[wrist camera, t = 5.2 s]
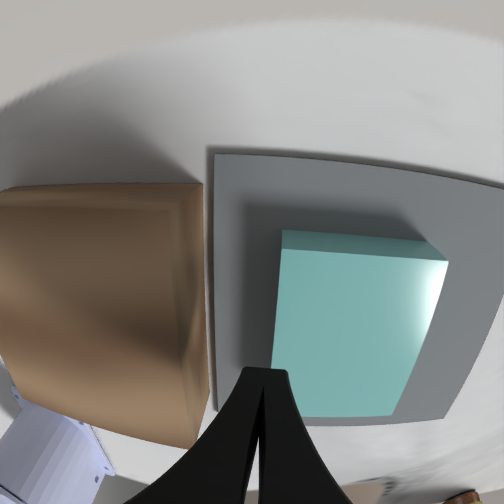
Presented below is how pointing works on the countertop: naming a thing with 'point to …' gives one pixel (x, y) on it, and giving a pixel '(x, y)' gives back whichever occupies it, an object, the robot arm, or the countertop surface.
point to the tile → (352, 319)
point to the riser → (107, 305)
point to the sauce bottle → (465, 499)
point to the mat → (365, 224)
